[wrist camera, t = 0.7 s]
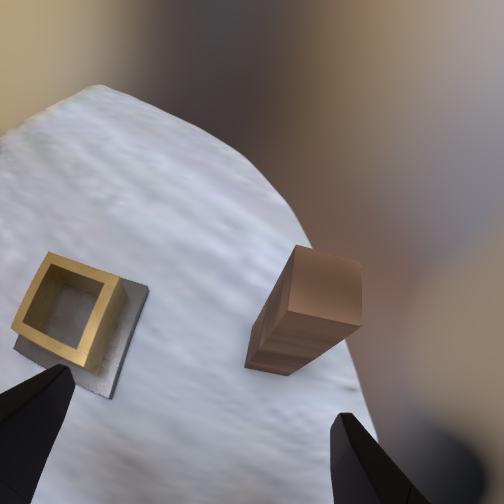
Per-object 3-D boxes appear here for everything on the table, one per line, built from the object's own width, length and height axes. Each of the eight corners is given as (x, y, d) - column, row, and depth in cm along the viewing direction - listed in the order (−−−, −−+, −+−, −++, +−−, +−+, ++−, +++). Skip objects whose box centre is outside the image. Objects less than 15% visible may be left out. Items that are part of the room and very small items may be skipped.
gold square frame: (111, 399, 20) (94, 392, 16) (18, 351, 19) (-6, 336, 16) (149, 290, 26) (142, 266, 23) (60, 260, 26) (45, 235, 22)
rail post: (287, 376, 24) (361, 326, 14) (244, 367, 24) (287, 310, 13) (293, 336, 26) (360, 262, 16) (252, 326, 26) (295, 244, 16)
